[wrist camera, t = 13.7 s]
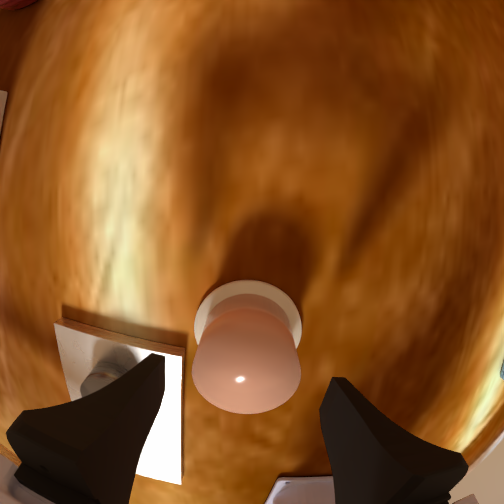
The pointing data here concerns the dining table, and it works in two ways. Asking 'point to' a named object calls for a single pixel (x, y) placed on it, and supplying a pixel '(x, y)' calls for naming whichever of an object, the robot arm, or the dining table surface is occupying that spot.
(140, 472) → the plate
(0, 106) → the small box
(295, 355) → the cap
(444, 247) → the dining table surface
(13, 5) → the canister
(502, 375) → the gum box
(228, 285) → the coaster
